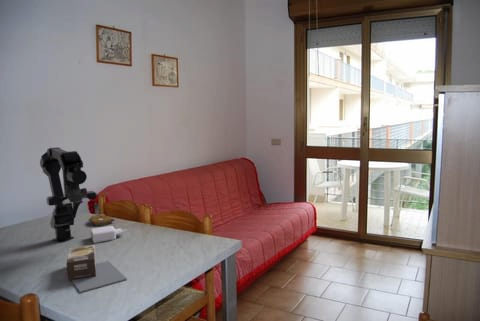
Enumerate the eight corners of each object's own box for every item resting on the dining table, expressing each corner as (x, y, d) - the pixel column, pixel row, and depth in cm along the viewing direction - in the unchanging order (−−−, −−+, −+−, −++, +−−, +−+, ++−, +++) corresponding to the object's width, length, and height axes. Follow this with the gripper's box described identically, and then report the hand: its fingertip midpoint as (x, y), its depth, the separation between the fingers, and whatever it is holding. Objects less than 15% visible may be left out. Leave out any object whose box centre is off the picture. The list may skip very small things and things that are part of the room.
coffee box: (94, 244, 143) (95, 258, 128) (96, 260, 144) (97, 276, 129) (68, 247, 140) (66, 263, 125) (69, 264, 140) (67, 281, 126)
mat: (65, 272, 134) (65, 271, 134) (108, 262, 143) (108, 260, 143) (80, 293, 118) (80, 291, 118) (126, 279, 127) (126, 278, 127)
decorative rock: (83, 223, 198) (97, 230, 188) (82, 216, 198) (96, 222, 187) (104, 217, 206) (118, 223, 196) (103, 210, 206) (117, 216, 196)
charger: (128, 238, 172) (93, 244, 165) (124, 232, 180) (91, 238, 173) (128, 228, 171) (93, 233, 164) (123, 223, 179) (90, 228, 172)
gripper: (50, 187, 144) (53, 226, 146) (99, 181, 155) (102, 217, 157) (44, 183, 153) (48, 220, 155) (92, 177, 164) (94, 212, 166)
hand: (73, 217), depth 158 cm, fingers closed
